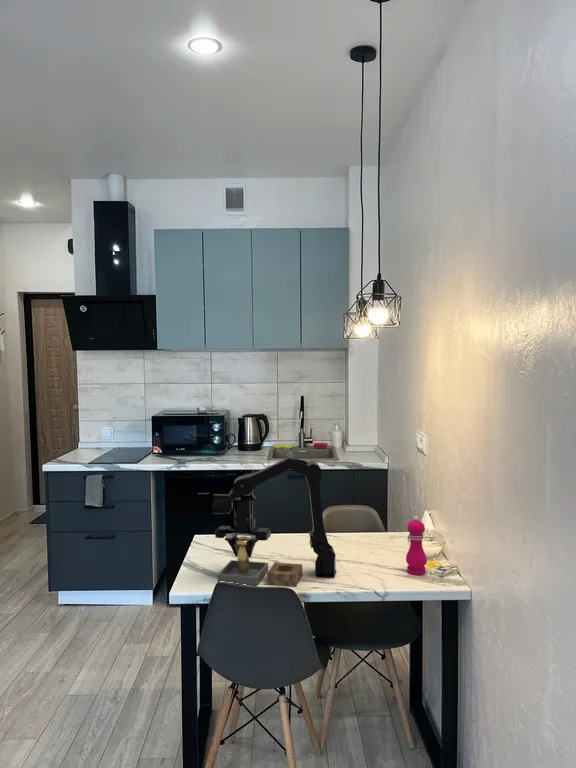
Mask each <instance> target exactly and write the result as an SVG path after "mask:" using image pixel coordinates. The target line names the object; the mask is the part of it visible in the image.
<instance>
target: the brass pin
mask: <svg viewBox="0 0 576 768" xmlns="http://www.w3.org/2000/svg"><path fill="white" fill-rule="evenodd" d="M250 539H251V536H242V535H241V536H237V538H235V544H236V545H237V552H238V556H237V561H238V573H248V572H249V561H250V558H249V540H250Z"/></svg>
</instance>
